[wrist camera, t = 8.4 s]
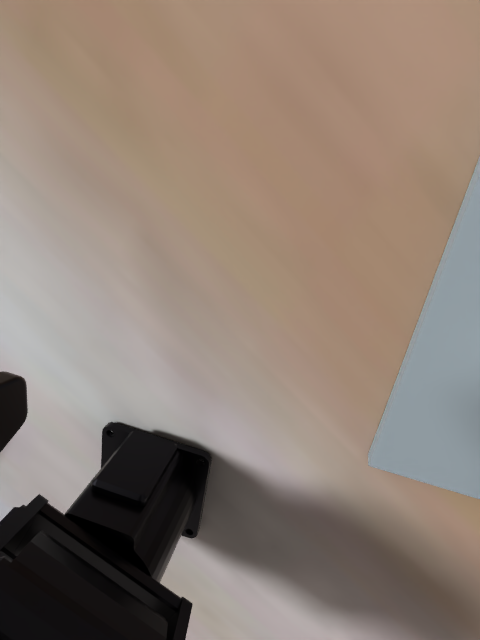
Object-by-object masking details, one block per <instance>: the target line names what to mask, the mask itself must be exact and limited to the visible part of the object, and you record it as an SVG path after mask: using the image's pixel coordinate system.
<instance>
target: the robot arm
mask: <svg viewBox="0 0 480 640" xmlns="http://www.w3.org/2000/svg"><path fill="white" fill-rule="evenodd" d="M27 411H28V409H27V387H26V381H25V379H24V378H23V377H21V376H18V375H15V374H12V373H9V372H0V452H1V451H2V450H3V448H4V447H5V446H6V445H7V443H8V442H9V441H10V440H11V439H12V437H13V436H14V435H15V434H16V432H17V431H18V430H19V429H20V427H21V426H22V425H23V423H24V421H25V419H26V417H27ZM111 431H113V432H114V433H113V432H111ZM200 459H202V460H203V461H204V462H203V461H201V460H200ZM210 465H211V456H210V455H209V454H208V453H207V452H205V451H203V450H199V449H196V448H193V447H190V446H187V445H184V444H180V443H177V442H174V441H171V440H168V439H165V438H161V437H158V436H155V435H152V434H149V433H146V432H142V431H139V430H136V429H133V428H130V427H127V426H123V425H120V424H117V423H113V422H110V423H108V424H107V425H106V426H105V427H104V428H103V431H102V459H101V470H100V471H99V472H98V473H97V474H96V476H95V477H94V478H93V480H92V481H91V482H90V483H89V484H88V486H87V487H86V488H85V489H84V491H83V492H82V493H81V494H80V496H79V497H78V498H77V499H76V501H75V502H74V503H73V504H72V506H71V507H70V508H69V509H68V510H67V512H66V513H65V514H63V513H61V512H60V511H58V510H57V509H56V508H54V507H53V506H51V505H50V504H49V503H48V500H47V499H45V498H44V497H43V496H41V495H40V494H39V495H38V496H37V497H36V498H34V499H33V500H32V501H31V502H30V503H29V504H28V505H27V506H25V505H22V506H21V507H14V508H13V509H12V510H11V511H10V512H9V513H8V514H7V515H6V516H5V517H4V518H3V519H2V520H1V521H0V640H185V638H186V633H187V628H188V623H189V619H190V614H191V609H192V603H191V602H190V601H188V600H187V599H185V598H184V597H181V598H180V597H179V596H177V595H176V594H174V593H173V592H172V591H170V590H169V589H167V588H166V587H165V586H163V585H162V584H160V581H161V579H162V576H163V574H164V572H165V570H166V568H167V565H168V563H169V561H170V559H171V556H172V554H173V552H174V550H175V548H176V545H177V543H178V541H179V539H180V537H181V535H182V536H185V537H188V538H195V537H196V536H197V534H198V531H199V528H200V522H201V517H202V511H203V505H204V500H205V494H206V488H207V482H208V477H209V471H210Z"/></svg>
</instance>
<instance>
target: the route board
mask: <svg viewBox="0 0 480 640" xmlns="http://www.w3.org/2000/svg"><path fill="white" fill-rule="evenodd" d="M368 464H369V466H371V467H374V468H378V469H381V470H384V471H388V472H391V473H394V474H398V475H401V476H404V477H407V478H411V479H414V480H417V481H421V482H424V483H427V484H431V485H434V486H437V487H441V488H444V489H447V490H451V491H454V492H457V493H461V494H464V495H467V496H471V497H474V498H477V499H480V157H479V159H478V162H477V165H476V168H475V170H474V173H473V176H472V178H471V181H470V184H469V186H468V189H467V192H466V194H465V197H464V200H463V202H462V205H461V208H460V210H459V213H458V216H457V218H456V221H455V224H454V226H453V229H452V232H451V234H450V237H449V240H448V242H447V245H446V248H445V250H444V253H443V256H442V258H441V261H440V264H439V266H438V269H437V272H436V274H435V277H434V280H433V282H432V285H431V288H430V290H429V293H428V296H427V298H426V301H425V304H424V306H423V309H422V312H421V314H420V317H419V320H418V323H417V325H416V328H415V331H414V333H413V336H412V339H411V341H410V344H409V347H408V349H407V352H406V355H405V357H404V360H403V363H402V365H401V368H400V371H399V373H398V376H397V379H396V381H395V384H394V387H393V389H392V392H391V395H390V397H389V400H388V403H387V405H386V408H385V411H384V413H383V416H382V419H381V421H380V424H379V427H378V429H377V432H376V435H375V437H374V440H373V443H372V445H371V448H370V451H369V453H368Z"/></svg>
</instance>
